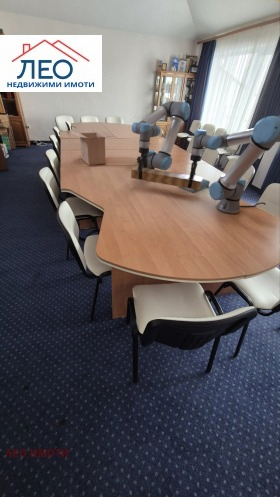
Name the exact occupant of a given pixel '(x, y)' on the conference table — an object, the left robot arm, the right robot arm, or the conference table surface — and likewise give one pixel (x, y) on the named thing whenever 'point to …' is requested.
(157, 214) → the conference table surface
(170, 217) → the conference table surface
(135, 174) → the wide beam
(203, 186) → the book
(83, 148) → the box
